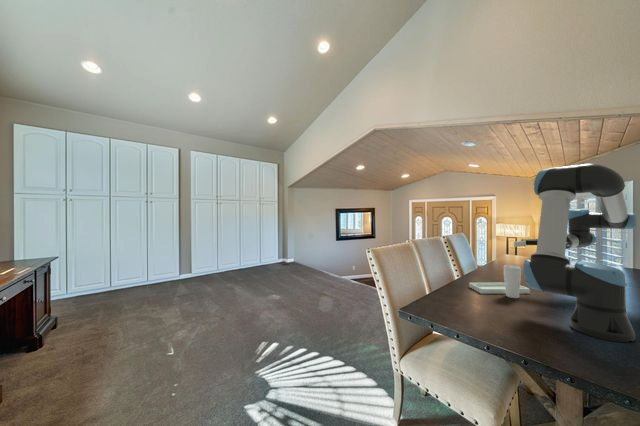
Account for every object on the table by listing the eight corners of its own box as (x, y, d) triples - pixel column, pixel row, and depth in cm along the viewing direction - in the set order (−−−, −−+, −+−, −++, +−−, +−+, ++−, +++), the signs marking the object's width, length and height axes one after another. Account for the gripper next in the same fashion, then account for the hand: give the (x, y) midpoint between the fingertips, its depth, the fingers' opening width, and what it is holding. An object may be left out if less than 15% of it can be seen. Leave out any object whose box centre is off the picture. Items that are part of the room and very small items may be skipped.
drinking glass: (514, 299, 120) (513, 268, 120) (500, 295, 126) (500, 265, 126) (524, 298, 122) (524, 267, 122) (510, 294, 128) (510, 264, 128)
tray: (482, 294, 129) (482, 289, 129) (469, 287, 141) (468, 282, 141) (530, 293, 128) (529, 288, 128) (512, 286, 140) (512, 282, 140)
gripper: (593, 253, 115) (554, 259, 112) (539, 245, 140) (505, 249, 137) (593, 237, 115) (553, 243, 112) (538, 231, 139) (504, 235, 137)
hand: (526, 246), depth 124 cm, fingers open, 13 cm apart
